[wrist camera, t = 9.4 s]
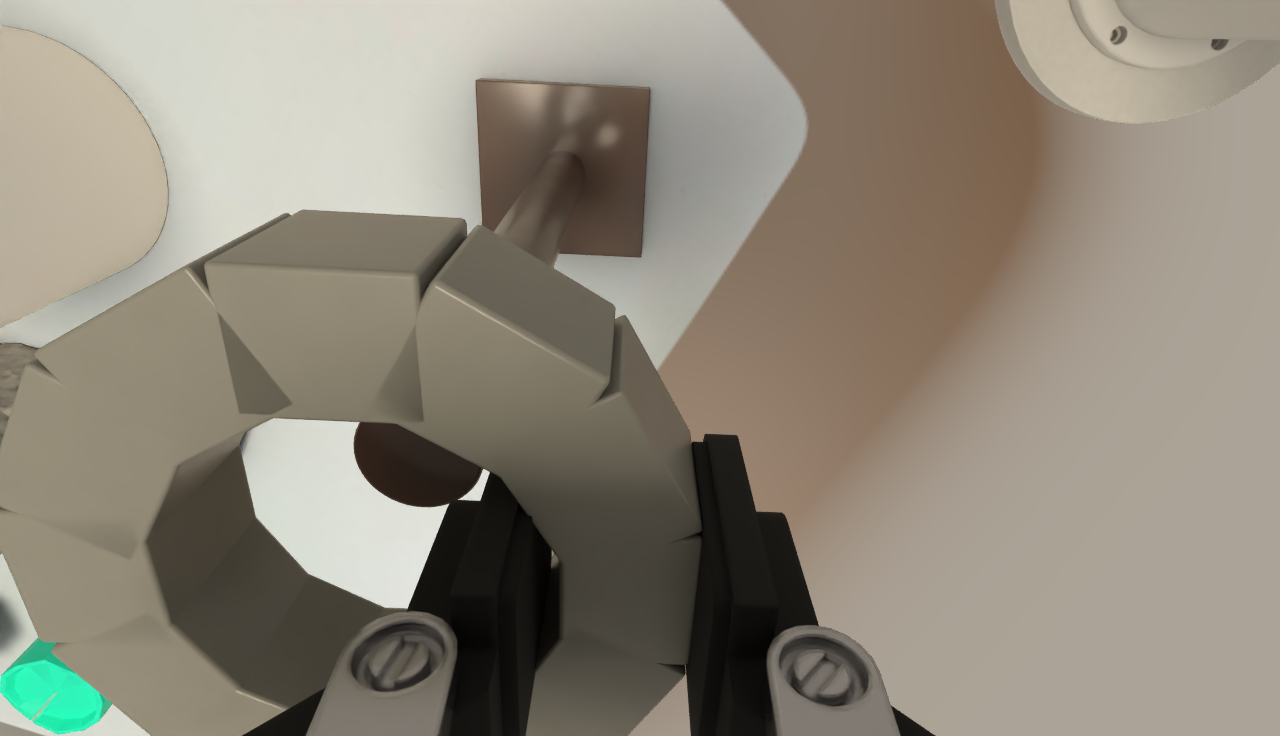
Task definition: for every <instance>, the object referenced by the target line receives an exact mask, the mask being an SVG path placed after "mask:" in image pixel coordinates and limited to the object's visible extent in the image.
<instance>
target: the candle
mask: <svg viewBox="0 0 1280 736" xmlns="http://www.w3.org/2000/svg"><path fill="white" fill-rule="evenodd" d="M56 643H57V642H43V641H41V640H40V639H39V637H38V638H37V640H36V641H35V642H34V643H33V644H32V645H31V646H30V647H29V648H28V649H27V650H26V651H25V652H24V653H23V654H22V655H21V656H20V657H19V658H18V659H17V660H16V661H15V662H14V663H13V664H12V665H11V666H10V667H9V668H8V669H7V670H6V671H5V672H4V673H3V674H2V675H1V685H0V692H1V693H2V695H3V696H4V697H5V698H6V699H7V700H8V701H9V702H10V703H11V704H12V706H13V707H14V708H15V709H17V710H18V711H19V712H21V713H22V714H23V715H24V716H26V717H27V718H28V719H29V720H30V722H33V723H35V724H36V725H39V726H41V727H43V728H45V729H47V730H50V731H52V732H54V733H56V734H64V733H70V732H77V731H83V730H86V729H87V728H89V727H90V726H92V725H94V724H95V723H97V722H98V721H100V719H101V718H102V717H103V715H104V714H105V713H106V711H107V710H108V709H109V708H110V706H111V705H112V703H111V702H110V701H109V700H107V699H106V698H105V697H104V696H103V695H101V694H100V693H99V692H98V691H97V690H95V689H94V688H93V687H92V686H91V685H89V684H88V683H87V682H86V681H85V680H83V679H82V678H81V677H80V676H79V675H77V674H76V673H75V672H74V671H73V670H71V669H70V668H69V667H68V666H66V665H65V664H64V663H63V662H62V661H60V660H59V659H58V658H57V657H56V656H54V655H53V653H52V651H51V650H52V648H53V647H54V645H55V644H56Z"/></svg>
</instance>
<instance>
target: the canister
mask: <svg viewBox="0 0 1280 736" xmlns="http://www.w3.org/2000/svg"><path fill="white" fill-rule="evenodd" d="M167 206H168V185H167V177H166V172H165V167H164V163H163V160H162V157H161V153H160V151H159V148H158V146H157V143H156V141H155V139H154V137H153V134H152V133H151V131H150V129H149V127H148V125H147V123H146V122H145V120H144V118H143V117H142V115H141V114H140V112H139V111H138V109H137V108H136V107H135V105H134V104H133V103H132V101H131V100H130V99H129V98H128V96H127V95H126V94H125V93H124V92H123V91H122V90H121V89H120V87H119V86H118V85H117V84H116V83H115V82H114V81H113V80H112V79H111V78H110V77H108V76H107V75H106V74H105V73H104V72H103V71H102V70H100V69H99V68H98V67H97V66H95V65H94V64H93V63H92V62H90V61H89V60H87V59H86V58H85V57H83V56H82V55H80V54H79V53H77V52H75V51H74V50H72V49H70V48H68V47H67V46H65V45H63V44H61V43H59V42H57V41H55V40H52V39H50V38H48V37H45V36H42V35H40V34H37V33H34V32H30V31H26V30H22V29H18V28H12V27H4V26H0V328H1V327H3V326H5V325H7V324H9V323H12V322H14V321H16V320H18V319H20V318H22V317H24V316H26V315H29V314H31V313H33V312H35V311H37V310H39V309H41V308H43V307H45V306H48V305H50V304H52V303H54V302H56V301H58V300H60V299H62V298H65V297H67V296H69V295H71V294H73V293H75V292H77V291H79V290H82V289H84V288H86V287H88V286H90V285H92V284H94V283H96V282H99V281H101V280H103V279H105V278H107V277H109V276H111V275H113V274H115V273H118V272H120V271H122V270H124V269H126V268H128V267H130V266H131V265H133V264H135V263H136V262H137V261H139V260H140V259H141V258H142V257H143V256H144V255H146V253H147V252H148V251H149V250H150V249H151V248H152V246H153V245H154V244H155V242H156V240H157V239H158V237H159V235H160V233H161V230H162V228H163V225H164V222H165V218H166V213H167Z"/></svg>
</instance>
